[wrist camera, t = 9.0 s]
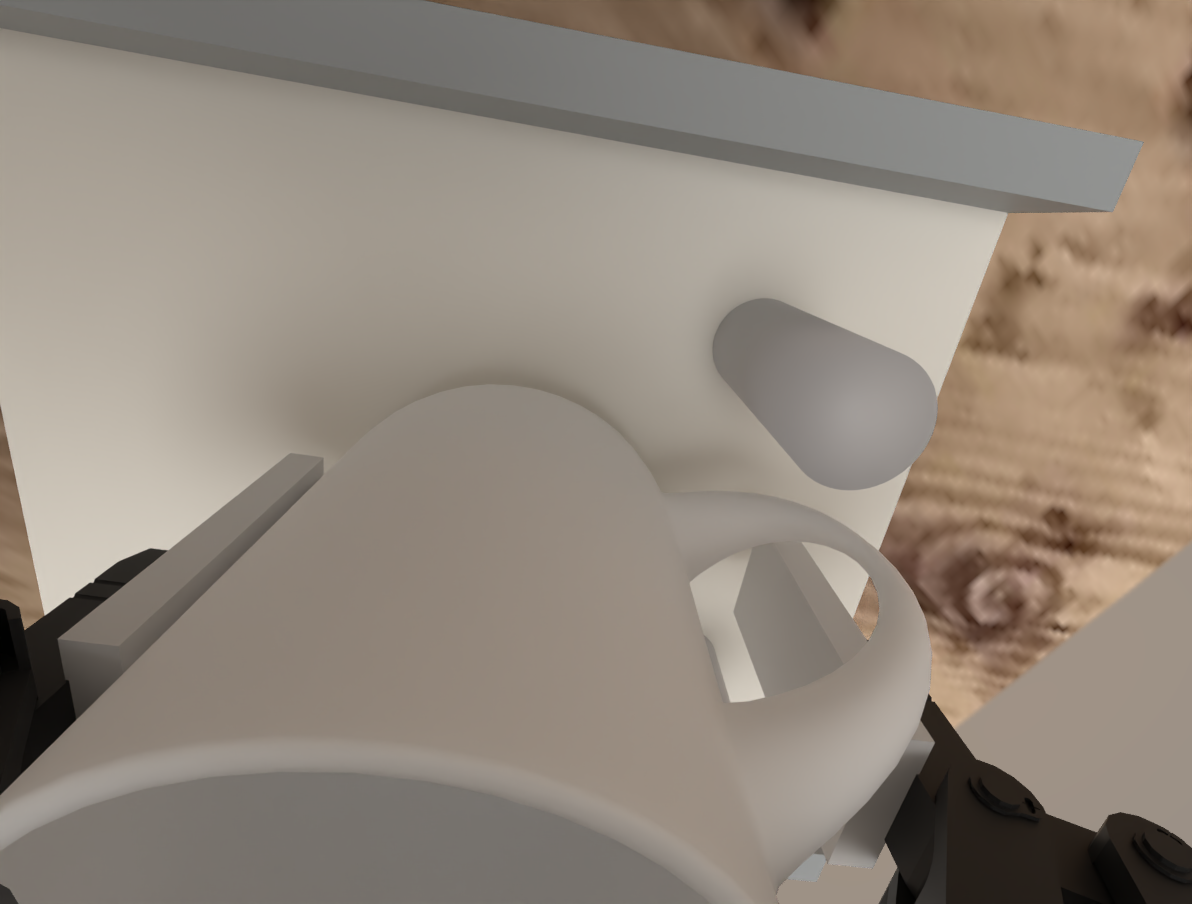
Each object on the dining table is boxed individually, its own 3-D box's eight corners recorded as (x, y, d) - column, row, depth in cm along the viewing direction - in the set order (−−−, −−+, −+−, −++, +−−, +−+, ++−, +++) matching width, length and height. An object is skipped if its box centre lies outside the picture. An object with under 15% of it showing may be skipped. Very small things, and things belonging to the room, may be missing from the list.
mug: (818, 593, 17) (1164, 1157, 7) (416, 691, 18) (198, 1304, 8) (763, 288, 14) (1254, 488, 4) (281, 429, 15) (-370, 886, 5)
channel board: (-39, -36, 13) (-703, -303, 6) (996, 161, 15) (1336, 116, 8) (95, 692, 20) (-146, 926, 14) (775, 764, 22) (858, 1002, 15)
